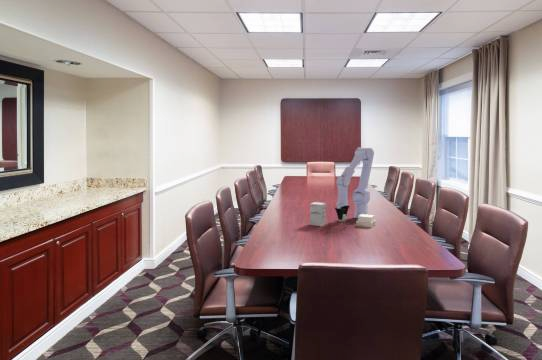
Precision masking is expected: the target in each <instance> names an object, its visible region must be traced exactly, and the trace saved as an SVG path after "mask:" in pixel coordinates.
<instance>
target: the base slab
mask: <svg viewBox="0 0 542 360" xmlns="http://www.w3.org/2000/svg"><path fill="white" fill-rule="evenodd" d="M376 225H377V220H376V219H374V221H373V222H372V223H369V222H359V221H358V220H356V223H355V226H356V227H363V228H370V229H371V228H374V227H375V226H376Z"/></svg>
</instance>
